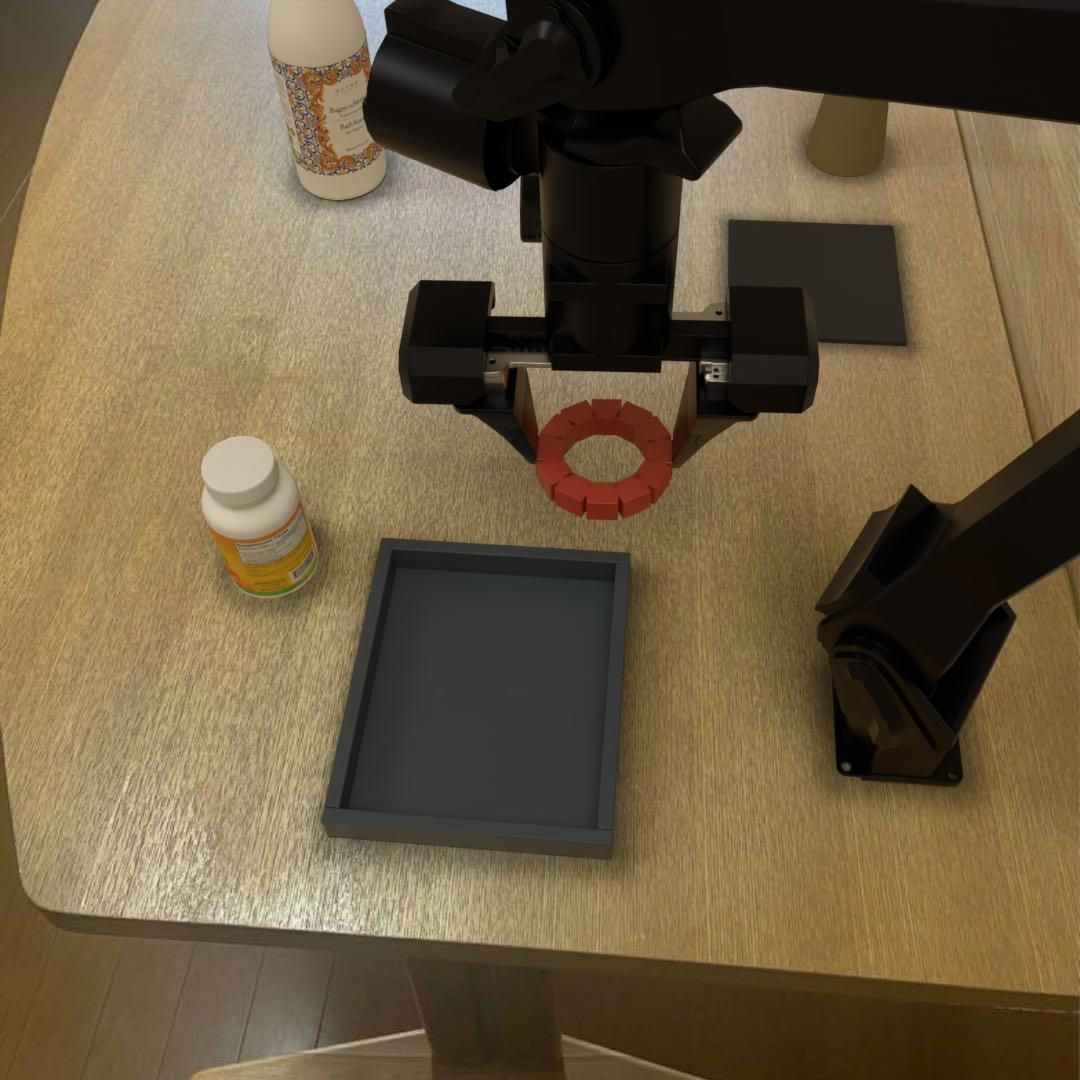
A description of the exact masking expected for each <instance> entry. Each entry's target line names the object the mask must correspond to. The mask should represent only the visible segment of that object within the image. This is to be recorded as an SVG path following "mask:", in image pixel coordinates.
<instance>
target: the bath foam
mask: <svg viewBox="0 0 1080 1080" xmlns="http://www.w3.org/2000/svg"><path fill="white" fill-rule="evenodd" d="M265 26H266V27H265V28H266V30H265V31H266V32H265V33H266V41H267V42H266V43H267V50H268V54H269V58H270V61H271V66H272V70H273V75H274V79H275V83H276V87H277V91H278V97H279V100H280V104H281V109H282V113H283V119H284V121H285V126H286V130H287V131H286V132H287V134H288V139H289V144H290V147H291V152H292V156H293V160H294V164H295V168H296V172H297V175H298V180H299V181H300V184H302V186H303V187H304V189H305V190H307V191H308V192H309V193H310V194H312V195H313V196H316V197H319V198H321V199H324V200H326V199H327V200H333V201H343V200H350V199H355V198H358V197H361V196H364V195H365V194H368V193H369V192H371V191H373V190H374V189H376V188H377V187H378V186H379V185H380V183H381V182H382V181H383V180H384V177H385V175H386V173H387V157H386V151H385V150H386V149H385V148H383V147H381V146H380V145H378V144H377V143H376V142H375V141H374V140H373V139H372V137H371V136H370V134H369V132H368V131H367V128H366V124H365V121H364V117H363V109H362V103H363V100H364V99H365V97H366V93H367V84H368V79H369V74H370V69H371V67H372V62H371V54H370V49H369V44H368V43H369V42H368V37H367V31H366V28H365V24H364V21H363V18H362V15H361V13H360V10H359V8H358V6H357V4H356V2H355V0H270V1H269V4H268V9H267V14H266V25H265Z"/></svg>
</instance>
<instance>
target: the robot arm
mask: <svg viewBox="0 0 1080 1080" xmlns="http://www.w3.org/2000/svg"><path fill="white" fill-rule="evenodd" d="M504 3H505V13H506V19H503V18H500V17H497V16H494V15H491V14H488V13H485V12H483V11H479V10H477V9H474V8H472V7H471V8H470V7H468V6H465V5H462V4H459V3H456V2H455V1H452V0H393V1H392V2H391V3H390V4H388V5H387V6H386V7H385V8H384V9H383V15H384V22H385V29H386V34H385V35H384V37H383V39H382V41H381V42H380V45H379V47H378V49H377V51H376V53H375V56H374V58H373V61H372V63H371V69H370V74H369V79H368V84H367V93H366V97H365V99H364V100H363V103H362V109H363V117H364V121H365V124H366V128H367V131H368V132H369V134H370V136H371V137H372V139H373V140H374V141H375V142H376V143H377V144H378V145H380V146H381V147H383V148H384V149H385V150H389V151H390V152H393V153H395V154H398V155H400V156H402V157H405V158H408V159H411V160H412V161H415V162H418V163H421V164H423V165H426V166H428V167H431V168H433V169H436V170H438V171H439V172H440V171H441V172H443V173H446V174H448V175H450V176H453V177H454V178H458V179H461V180H463V181H465V182H467V183H469V184H472V185H475V186H477V187H480V188H483V189H485V190H488V191H492V192H495V193H497V192H499V191H503V190H505V189H506V188H508V187H509V186H511V185H513V184H514V183H515V182H516V181H518V179H520V181H519V183H520V184H519V237H520V241H521V242H522V243H525V244H526V243H527V244H528V243H529V244H530V243H531V244H533V243H534V244H541V252H542V253H541V254H542V255H541V256H542V257H541V258H542V279H543V306H544V309H543V310H544V316H522V315H520V316H517V315H515V316H514V315H511V316H510V315H492V310H494V309H495V308H496V302H497V301H496V300H497V296H496V295H497V294H496V283H495V282H494V281H493V280H492V281H491V280H454V279H453V280H451V279H447V280H445V279H420V280H419V281H418V282H417V283H416V284H415V285H414V286H413V288H411V289H410V291H409V292H408V297H407V303H406V307H405V314H404V319H403V324H402V329H401V336H400V341H399V346H398V353H397V354H398V355H397V358H398V360H397V361H398V363H397V364H398V367H397V369H398V375H399V381H400V386H401V393H402V395H403V396H404V397H405V398H406V399H407V400H408V401H409V402H410V403H411V404H412V405H440V406H441V405H443V406H444V405H445V406H448V405H449V406H452V407H453V410H454V411H455V412H456V413H457V414H460V415H467V416H473V417H476V418H477V420H479V421H481V422H482V423H483V424H485V425H486V426H487V427H489V428H490V429H491V430H493V431H494V432H496V433H497V434H499V435H500V436H501V437H502V438H503V439H504V440H505V441H506V442H508V444H509V445H510V446H511V447H512V448H513V449H514V450H515V451H516V452H517V453H518V454H519V455H520V456H521V457H522V458H523V459H524V460H525V461H526V462H527V463H528V464H529V465H533V466H534V465H535V466H536V460H537V452H538V440H539V436H540V431H539V424H538V419H537V414H536V409H535V404H534V399H533V393H532V389H531V383H530V378H529V373H528V369H551V371H552V372H554V371H555V372H593V373H594V372H595V373H596V372H597V373H632V374H633V373H634V374H662V367H663V366H662V364H663V362H686V363H687V362H689V363H688V370H687V374H686V379H685V381H684V386H683V390H682V394H681V398H680V401H679V407H678V410H677V414H676V418H675V421H674V427H673V431H672V438H671V440H672V463H673V469H675V470H677V469H678V470H679V469H681V468H682V467H683V466H684V465H685V464H686V463H687V462H688V461H689V460H690V459H691V458H692V457H694V456H695V454H696V453H698V452H699V451H700V450H701V449H702V448H703V447H704V446H706V444H707V443H709V442H710V441H712V440H713V439H714V438H716V437H718V436H719V435H720V434H722V433H723V432H725V431H726V430H728V429H729V428H731V427H733V425H736V424H737V423H750V422H753V421H755V420H756V419H758V417H759V416H760V413H761V414H793V415H795V414H797V415H798V414H799V415H801V414H803V413H804V412H806V411H807V410H808V409H810V408H811V407H812V406H813V405H814V402H815V398H816V392H817V389H818V385H819V380H820V379H819V378H820V361H821V359H820V353H819V352H820V351H819V342H818V341H817V331H816V321H815V312H814V302H813V299H812V298H811V297H810V295H809V294H808V293H807V292H806V291H805V289H804V288H803V287H772V286H728V285H727V286H726V288H725V294H724V296H725V297H724V302H713V303H710V304H708V305H707V306H706V307H705V308H704V309H703V310H702V311H673V310H674V300H675V299H674V298H675V288H676V287H675V285H676V273H677V261H678V250H679V249H678V248H679V235H680V223H681V210H682V209H681V208H682V196H683V186H684V185H683V184H684V183H683V182H684V180H686V181H689V182H696V181H698V180H700V179H701V178H702V177H703V176H704V174H705V173H706V172H707V171H708V170H709V169H710V168H711V167H712V166H713V165H714V163H715V162H716V161H717V160H718V159H719V158H720V157H721V155H722V154H723V153H724V152H725V151H726V150H727V149H728V148H729V146H730V145H731V144H732V143H733V142H734V141H735V140H736V139H737V137H739V135H740V134H741V133H742V132H743V127H744V123H743V121H742V120H741V118H740V117H739V115H737V113H736V112H735V111H734V110H733V108H732V107H731V106H730V105H729V104H728V103H726V102H725V101H724V100H721V98H718V96H716V95H717V94H720V93H723V92H727V91H731V90H735V89H736V90H737V89H752V88H753V89H755V88H771V89H780V90H786V91H787V90H788V91H797V92H803V93H812V94H819V95H821V94H822V95H824V94H828V95H836V96H844V97H852V98H861V99H869V100H877V101H885V102H889V103H895V104H902V105H911V106H917V107H918V106H920V107H927V108H935V109H943V110H951V111H960V112H969V113H976V114H984V115H991V116H992V115H993V116H1001V117H1009V118H1017V119H1026V120H1035V121H1042V122H1050V123H1057V124H1058V123H1059V124H1065V125H1066V124H1067V125H1075V126H1080V0H504ZM1079 558H1080V408H1078V409H1077V410H1075V412H1073V413H1072V414H1071V415H1069V416H1068V417H1067V418H1065V419H1064V420H1063V421H1062V422H1060V423H1059V424H1058V425H1057V426H1055V427H1054V428H1053V429H1051V430H1050V431H1049V432H1048V433H1046V434H1045V435H1043V436H1042V438H1040V439H1039V440H1037V441H1036V442H1035V443H1034V444H1032V445H1030V446H1029V447H1028V448H1027V449H1026V450H1024V451H1023V452H1022V453H1020V454H1019V455H1017V457H1015V458H1014V459H1013V460H1012V461H1010V462H1009V463H1007V464H1006V465H1005V466H1004V467H1003V468H1001V469H1000V470H998V471H997V472H995V474H994V475H992V476H991V477H990V478H988V479H987V480H986V481H984V482H983V483H982V484H980V485H979V486H978V487H976V488H975V489H973V491H971V492H970V493H968V495H966V496H965V497H963V498H962V499H961V500H959V501H957V502H955V503H952V502H951V503H950V502H942V501H936V500H935V501H934V500H930V499H929V498H928V497H927V496H926V495H925V494H924V493H923V492H922V491H921V490H919V489H918V487H917V486H915V485H914V484H912V483H909V484H908V486H907V487H906V489H905V490H904V492H903V493H902V495H901V496H900V498H899V499H898V500H897V501H896V502H895V503H894V504H892V505H890V506H889V507H887V508H886V509H885V508H884V509H880V510H875V511H873V512H871V514H870V516H869V518H868V519H867V521H866V523H865V524H864V525H863V527H862V529H861V531H860V532H859V534H858V535H857V537H856V538H855V540H854V542H853V544H852V545H851V547H850V549H849V550H848V552H847V553H846V555H845V557H844V558H843V560H842V561H841V563H840V564H839V567H838V568H837V570H836V572H835V573H834V575H833V576H832V577H831V579H830V581H829V583H828V585H827V586H826V587H825V589H824V591H823V592H822V594H821V595H820V597H819V599H818V601H817V602H816V604H815V605H814V607H813V609H814V610H815V612H817V613H819V614H822V617H821V618H820V620H819V621H818V623H817V625H816V627H815V631H814V636H815V639H816V641H817V642H818V643H820V644H821V646H822V647H823V649H824V650H825V652H826V653H827V654H828V656H827V657H828V664H829V667H830V672H831V675H830V678H831V679H830V681H831V696H832V717H833V732H834V733H833V734H834V735H833V736H834V753H835V754H834V756H835V769H836V771H837V773H838V774H839V775H841V776H842V777H848V778H858V779H859V778H860V780H861V781H871V782H873V781H874V782H886V783H901V784H913V785H927V786H941V787H957V786H959V785H960V784H961V782H962V781H963V779H964V769H963V761H962V753H961V743H960V737H959V736H960V734H961V732H962V730H963V728H964V726H965V724H966V722H967V719H968V718H969V717H970V714H971V712H972V710H973V708H974V706H975V704H976V701H977V699H978V698H979V696H980V694H981V692H982V690H983V688H984V686H985V684H986V682H987V680H988V678H989V676H990V674H991V672H992V669H993V667H994V666H995V664H996V662H997V660H998V657H999V656H1000V654H1001V652H1002V649H1003V648H1004V647H1005V644H1006V642H1007V640H1008V639H1009V636H1010V633H1011V632H1012V630H1013V627H1014V625H1015V623H1016V621H1017V620H1018V615H1017V614H1016V612H1015V611H1014V609H1013V607H1011V605H1010V604H1009V602H1008V601H1009V600H1011V599H1013V598H1014V597H1016V596H1018V595H1020V594H1021V593H1022V592H1025V591H1026V590H1028V589H1029V588H1031V587H1032V586H1034V585H1036V584H1037V583H1039V582H1040V581H1043V579H1045V578H1047V577H1049V576H1050V575H1052V574H1054V573H1056V572H1057V571H1059V570H1060V569H1062V568H1064V567H1065V566H1067V565H1068V564H1070V563H1072V562H1074V561H1075V560H1077V559H1079ZM843 764H847V765H848V766H849V767H850V769H849V770H845V769H844V768H843V767H842V765H843ZM949 774H952V775H954V776H955V778H952V777H951V776H950V775H949Z"/></svg>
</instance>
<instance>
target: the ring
mask: <svg viewBox="0 0 1080 1080" xmlns="http://www.w3.org/2000/svg"><path fill="white" fill-rule="evenodd" d="M590 400H591V401H590V402H589V400H587V399H584V400H581V401H579V402H577V403H574V404H571V405H569V406H565V407H564V408H561V409H559V413H557V412H556V413H554V415H553V416H551V418H550V419H549V420H548V422H546V424H545V425H544V426H543V427H542V428H541V430H540V431H539V440H538V452H537V460H536V465H535V476H536V477H537V482H538V483H539V485H540V486H541V488H542V490H543V491H544V493H545V495H546V496H547V498H548V499H549V500H550V502H554V505H555V506H556V507H559V508H561V509H562V510H564V511H566V512H568V513H570V514H572V515H573V516H576V517H578V518H580V519H581V518H583V516H584V515H586V516H585V519H586V520H590V521H591V520H595V521H619V515H620V517H621V518H622V519H623V520H625V519H627V518H629V517H632V516H634V515H636V514H639V513H641V512H644V511H646V510H649V509H650V508H651V504H652V505H656V504H657V502H658V501H659V499H661V497H662V496H663V494H664V493H665V492H666V490H667V489H668V487H669V486H670V484H671V480H672V479H673V463H672V434H671V433H670V432H669V430H668V429H667V428H666V426H665V425H664V424H663V422H662V421H661V419H660V418H659V417H658V416H657V415H653V412H652V411H650V410H648V409H646V408H644V407H642V406H640V405H637V404H635V403H633V402H631V401H629V400H626V401H625V402H624V403H623V401H622V399H619V398H591V399H590ZM594 436H614V437H615V436H616V437H618V438H620V439H623V440H624V441H626V442H628V443H631V444H633V445H634V446H635V448H637V450H638V452H639V453H640V454H641V456H642V457H643V458H644V461H643V462H642V463H641V465H640V466H639V467H638V468H637V470H636V471H635V472H634V473H633V474H631V475H629V476H626V477H623V478H621V479H619V480H616V481H592V480H589V479H588V478H586V477H584V476H582V475H579V474H578V473H576V472H574V471H573V470H572V468H571V467H570V465H569V463H568V462H567V461H566V459H565V456H566V455H567V454H568V453H569V452H570V450H571V449H572V448H573V447H574V446H575V444H577V443H579V442H581V441H584V440H586V439H589V438H591V437H594Z"/></svg>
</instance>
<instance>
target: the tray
mask: <svg viewBox="0 0 1080 1080" xmlns="http://www.w3.org/2000/svg"><path fill="white" fill-rule="evenodd" d="M630 571H631V553H630V552H627V551H611V550H609V551H608V550H595V549H594V550H593V549H574V548H562V547H561V548H559V547H545V546H544V547H543V546H542V547H541V546H527V545H512V544H511V545H509V544H496V543H495V544H494V543H492V544H491V543H479V542H477V543H476V542H461V541H460V542H459V541H447V540H431V539H430V540H429V539H428V540H427V539H413V538H398V537H397V538H396V537H381V538H380V542H379V547H378V552H377V556H376V561H375V566H374V571H373V575H372V580H371V585H370V589H369V594H368V598H367V603H366V608H365V612H364V617H363V623H362V627H361V631H360V636H359V641H358V646H357V650H356V655H355V659H354V664H353V669H352V674H351V679H350V682H349V688H348V693H347V697H346V702H345V706H344V712H343V716H342V721H341V724H340V725H341V726H340V729H339V735H338V738H337V744H336V749H335V753H334V758H333V763H332V767H331V772H330V777H329V782H328V787H327V791H326V796H325V800H324V805H323V806H324V808H323V811H322V814H321V818H320V822H321V824H322V826H323V828H324V830H325V833H326V835H327V837H328V838H334V839H336V838H337V839H345V840H347V839H349V840H357V841H369V842H370V841H372V842H384V843H397V844H407V845H421V846H430V847H431V846H433V847H445V848H456V849H468V850H469V849H470V850H481V851H494V852H505V853H506V852H507V853H517V854H519V853H520V854H530V855H531V854H532V855H544V856H554V857H566V858H567V857H569V858H577V859H579V858H581V859H590V860H591V859H592V860H593V859H594V860H604V861H611V860H612V858H613V857H612V856H613V844H614V843H613V841H614V827H615V826H614V825H615V810H616V794H617V780H618V776H617V775H618V762H619V747H620V745H619V744H620V731H621V716H622V715H621V713H622V698H623V683H624V682H623V681H624V670H625V669H624V668H625V654H626V653H625V651H626V636H627V619H628V606H629V605H628V603H629V590H630V589H629V588H630V573H631V572H630Z"/></svg>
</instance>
